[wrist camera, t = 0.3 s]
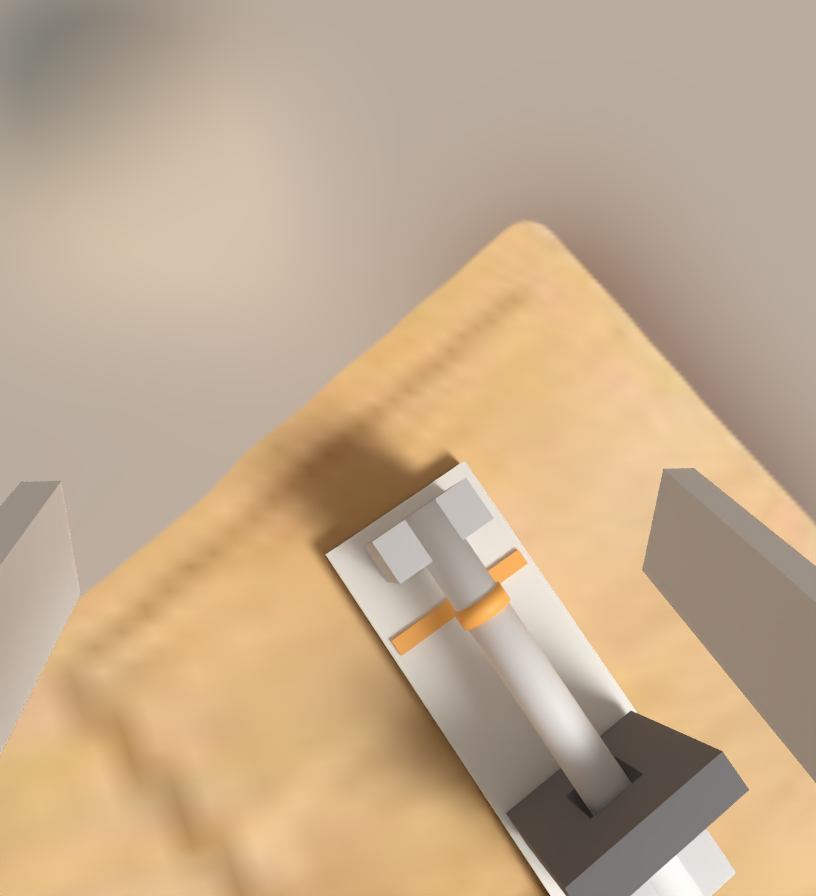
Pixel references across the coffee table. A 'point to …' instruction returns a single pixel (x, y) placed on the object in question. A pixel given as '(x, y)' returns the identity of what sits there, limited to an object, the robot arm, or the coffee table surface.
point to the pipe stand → (499, 661)
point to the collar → (628, 810)
